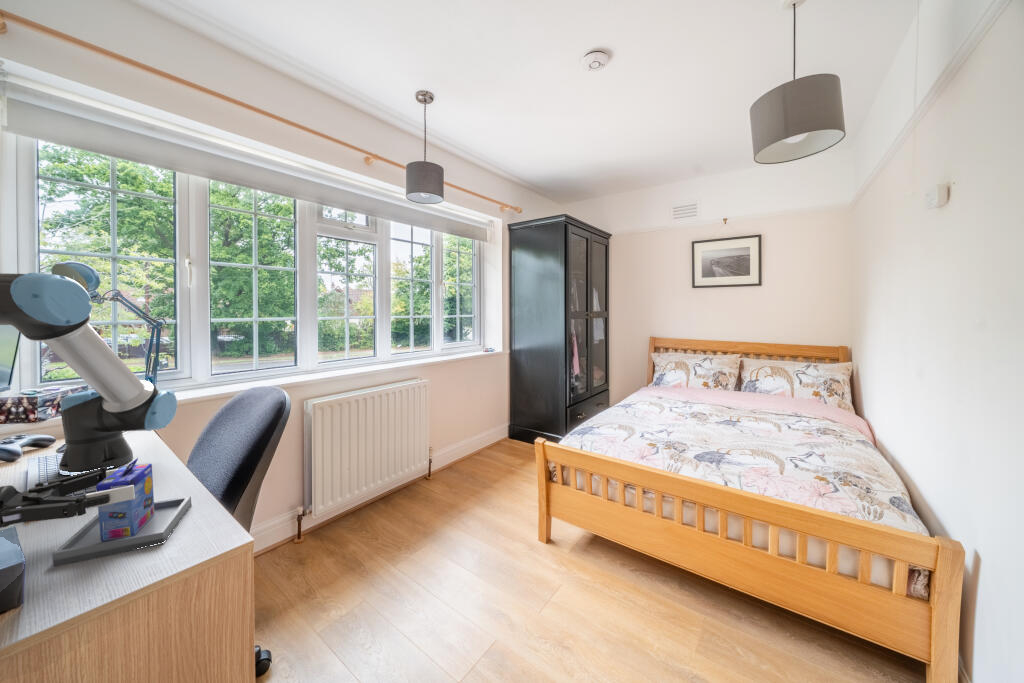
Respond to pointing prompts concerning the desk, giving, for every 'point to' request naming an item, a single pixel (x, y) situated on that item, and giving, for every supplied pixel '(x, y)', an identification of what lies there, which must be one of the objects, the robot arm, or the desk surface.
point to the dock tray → (151, 533)
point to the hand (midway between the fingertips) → (141, 480)
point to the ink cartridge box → (127, 502)
